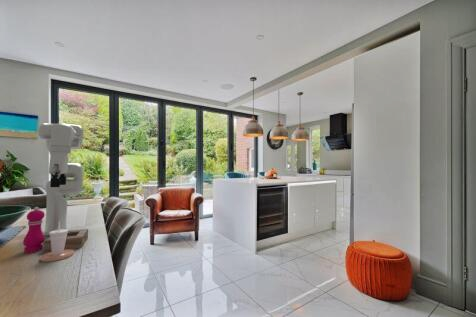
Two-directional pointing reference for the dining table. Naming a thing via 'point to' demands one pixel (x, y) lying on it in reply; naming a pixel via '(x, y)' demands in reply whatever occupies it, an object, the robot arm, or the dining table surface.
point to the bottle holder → (70, 240)
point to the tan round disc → (56, 256)
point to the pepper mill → (34, 232)
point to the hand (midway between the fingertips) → (58, 185)
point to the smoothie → (58, 240)
